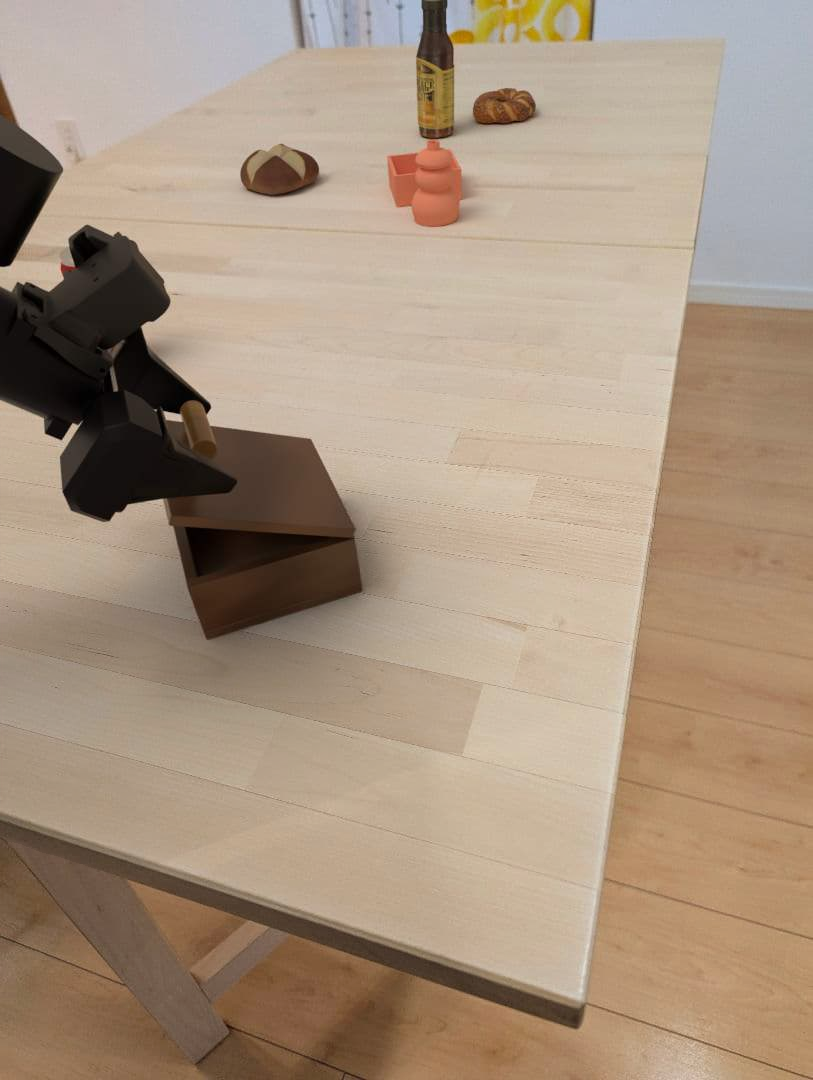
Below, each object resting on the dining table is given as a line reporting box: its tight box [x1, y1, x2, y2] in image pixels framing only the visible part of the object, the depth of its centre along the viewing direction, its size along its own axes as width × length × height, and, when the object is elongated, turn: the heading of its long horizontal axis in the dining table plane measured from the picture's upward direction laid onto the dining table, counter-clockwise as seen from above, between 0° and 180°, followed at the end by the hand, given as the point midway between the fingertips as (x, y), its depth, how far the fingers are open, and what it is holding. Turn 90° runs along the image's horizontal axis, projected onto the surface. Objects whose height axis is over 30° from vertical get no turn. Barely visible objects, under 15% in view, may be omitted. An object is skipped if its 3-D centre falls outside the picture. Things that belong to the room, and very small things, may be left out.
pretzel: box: [472, 87, 537, 124], centre depth 140 cm, size 12×11×4 cm
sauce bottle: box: [415, 0, 455, 139], centre depth 130 cm, size 7×6×20 cm
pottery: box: [386, 139, 463, 227], centre depth 110 cm, size 18×10×10 cm, turn 7°
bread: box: [239, 143, 320, 196], centre depth 121 cm, size 11×11×5 cm
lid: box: [162, 400, 357, 538], centre depth 54 cm, size 12×12×4 cm
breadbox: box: [172, 526, 363, 640], centre depth 59 cm, size 12×12×5 cm
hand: (220, 446), depth 53 cm, fingers open, 9 cm apart
